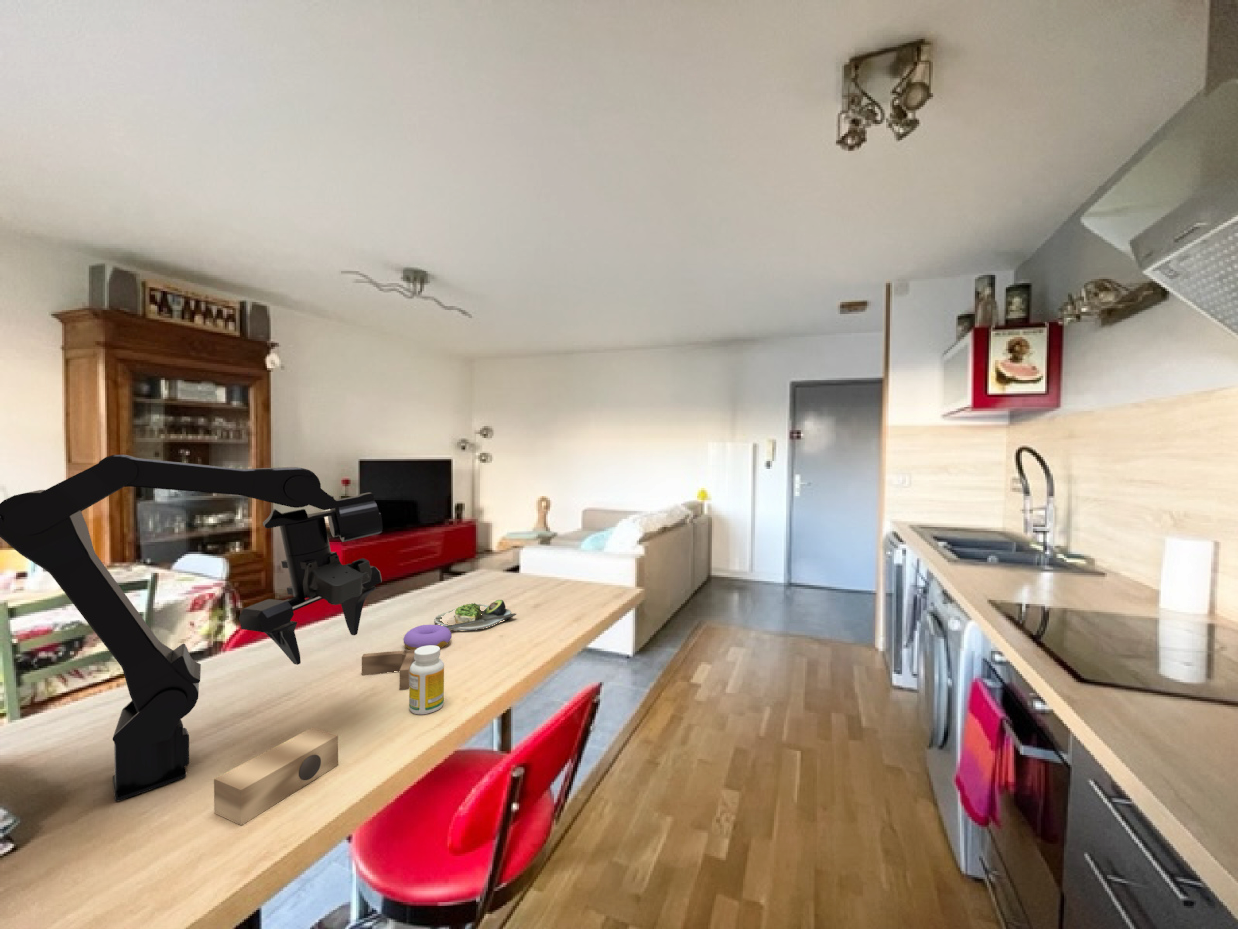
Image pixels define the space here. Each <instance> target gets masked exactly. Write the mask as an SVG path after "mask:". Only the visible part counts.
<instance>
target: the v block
mask: <svg viewBox="0 0 1238 929" xmlns="http://www.w3.org/2000/svg"><path fill="white" fill-rule="evenodd" d="M415 650H416V649H414V650H409V649H405V650H394V651H393V650H392V651H383V652H382V651H381V652H371V653H370V652H369V653H363V654H362V656H361V676H369V674H370V675H379V674H380V673H381V674H388V673H387V672H392V673H395V672H394V671H400V672H399V690H400V691H403V690H409V673H410V666H411V665H412V663H413V662H415V659H414V651H415Z"/></svg>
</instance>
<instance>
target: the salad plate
mask: <svg viewBox="0 0 1238 929" xmlns="http://www.w3.org/2000/svg"><path fill="white" fill-rule="evenodd" d="M480 606H484V607H487V608H486V609H485V610H484V611H481V610H480ZM455 609H456V610H455ZM453 610H455V617H454V621H455V623H454V624H453V625H448V624H449V623H448V624H444V623H443V622H442V621H440V619H442V617H441V616H444V615H445V614H446V613H450V612H452V611H453ZM481 614H482V615H481ZM516 615H517V613H516V612H515V613H512V611H511V610H510V609H508V608H506V604H505V602H504V600H503V599H497V600H495V601H493V602H491V603H490V604H489V605H488V604H483V603H476V602H474V603H467V604H463V605H461V606H458V607H457V608H454V609H452V610H448V611H446V612H443V613H441V614H438V615H436V616H435V617H434V620H433V622H434V623H435V624H436V623H437V624H440V625H443V626H444V627H446V628H448V629H449V630H450V631H453V630H475V631H477V630H476V629H483V628H486V627H489V626H492V625H494V624H496V623H499V622H500V621H503V620H506V619H508V620H509V618H510V619H511V618H513V617H515V616H516ZM506 621H507V620H506ZM437 624H436V625H437ZM494 626H495V625H494ZM492 627H493V626H492ZM483 630H484V629H483Z"/></svg>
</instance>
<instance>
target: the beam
mask: <svg viewBox="0 0 1238 929" xmlns="http://www.w3.org/2000/svg"><path fill="white" fill-rule="evenodd" d="M337 766H339V735H338V734H335V733H331V732H328V731H325V730H322V729H319V728H315V727H310V728H309V729H307V730H305V731H303V732H300V733H299V734H297V735H295V736H294V737H293V736H292V737H291V738H290V739H288V740H285V741H284V742H282V743H280V744H278V745H276V746H274V747H272V748H270V749H269V750H266V751H265V752H262V753H261V754H259V755H257V756H255V757H253V758H251V759H249V760H248V761H245V762H244V763H241V764H240V765H237V766H236V767H234V768H232V769H230V770H228V771H227V772H225V773H222V774H221V775H218V776H217V777H215V778H214V779H213V798H214V799H213V812H214V814H216V815H218V816H220V817H222V818H225V819H227V820H229V821H230V822H233V823H235V824H237V825H239V826H243V825H245V824H246V823H248V822H249V821H250V820H252V819H254V818H256V817H257V816H259V815H261V814H262V813H264V812H265V811H267V810H269V809H270V808H272V807H273V806H275V805H276V804H278V803H279V802H281V801H283V800H285V799H286V798H288V797H289V796H291V795H292V794H294V793H296V792H297V791H299V790H301V789H302V788H304V787H305V786H307V785H308V784H310V783H312V782H313V781H314V780H317V779H319V778H320V777H321V776H323V775H325V774H326V773H328V772H329V771H331V770H333V769H334V768H336V767H337Z"/></svg>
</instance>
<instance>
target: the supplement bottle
mask: <svg viewBox="0 0 1238 929" xmlns="http://www.w3.org/2000/svg"><path fill="white" fill-rule="evenodd" d="M440 657H441V648H440V647H438V646H435V645H428V646H422V647H419V648H417V649H416V650H415V651H414V659H415V662H413V663H412V665H411V666H410V673H409V689H408V691H409V692H408V693H409V694H408V699H409V700H408V706H409V708H408V709H409V711H410V712H411V713H412V714H415V715H426V714H427V715H428V714H431V713H435V712H437V711H438V710H440V709H442V707H443V705H444V701H445V700H444V699H445V698H444V695H445V663H444V661H443V660H442V659H441V658H440Z"/></svg>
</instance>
